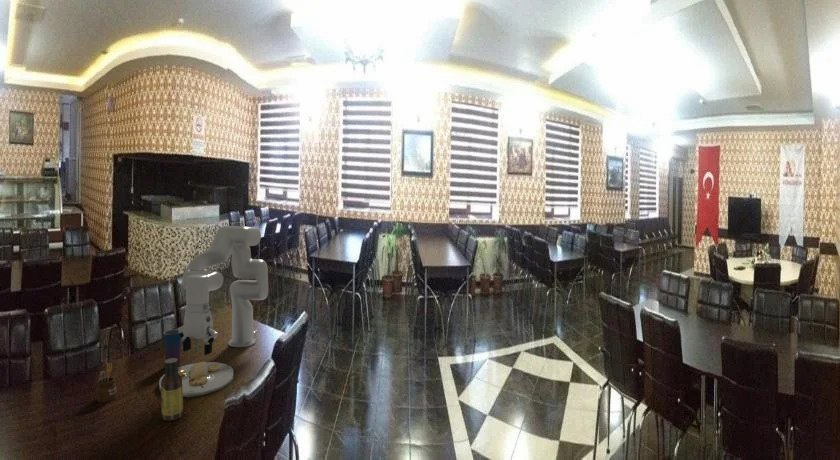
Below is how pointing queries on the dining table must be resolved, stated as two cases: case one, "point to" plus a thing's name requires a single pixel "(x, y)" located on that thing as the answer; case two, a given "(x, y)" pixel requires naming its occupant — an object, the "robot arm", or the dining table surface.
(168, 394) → the sauce bottle
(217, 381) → the white round plate
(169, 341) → the cup
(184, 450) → the dining table surface
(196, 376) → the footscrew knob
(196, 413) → the dining table surface
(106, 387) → the utensil holder
